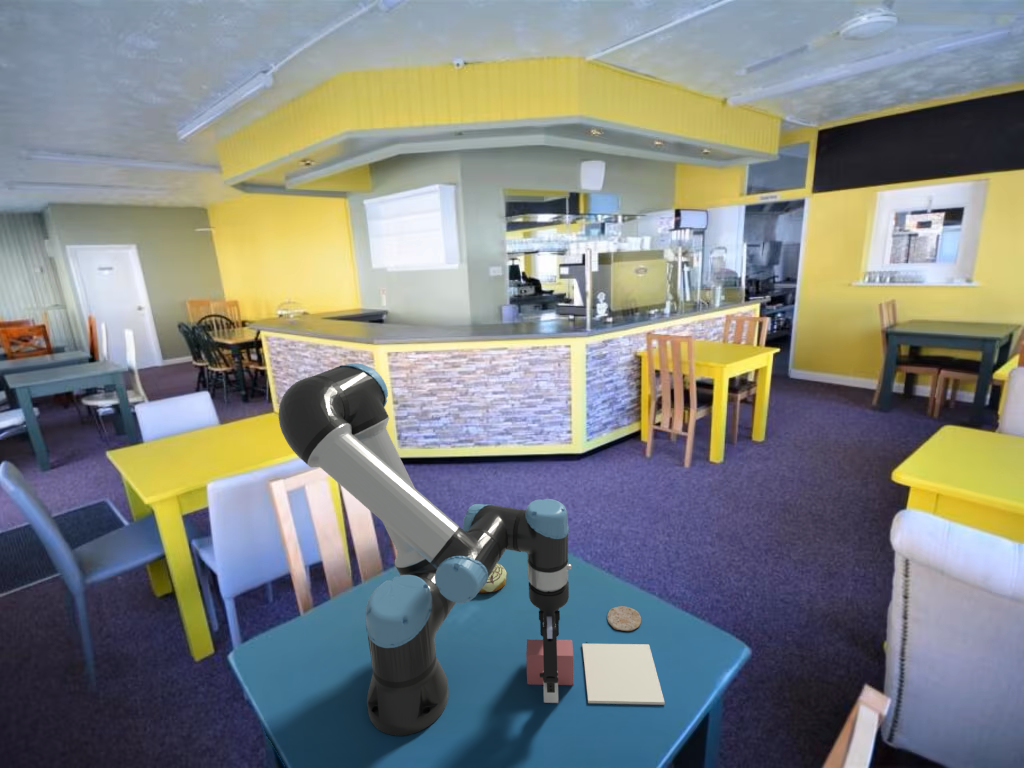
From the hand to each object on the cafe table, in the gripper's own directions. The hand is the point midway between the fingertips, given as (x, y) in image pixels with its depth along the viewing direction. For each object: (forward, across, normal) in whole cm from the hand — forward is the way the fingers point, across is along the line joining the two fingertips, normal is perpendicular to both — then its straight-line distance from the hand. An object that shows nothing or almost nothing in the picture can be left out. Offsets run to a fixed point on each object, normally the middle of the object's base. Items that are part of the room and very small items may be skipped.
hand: (550, 675), depth 100 cm
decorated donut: (+1, +29, +16) cm, 33 cm away
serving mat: (0, +1, -14) cm, 14 cm away
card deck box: (0, 0, 0) cm, 0 cm away
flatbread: (+1, +16, -17) cm, 23 cm away
